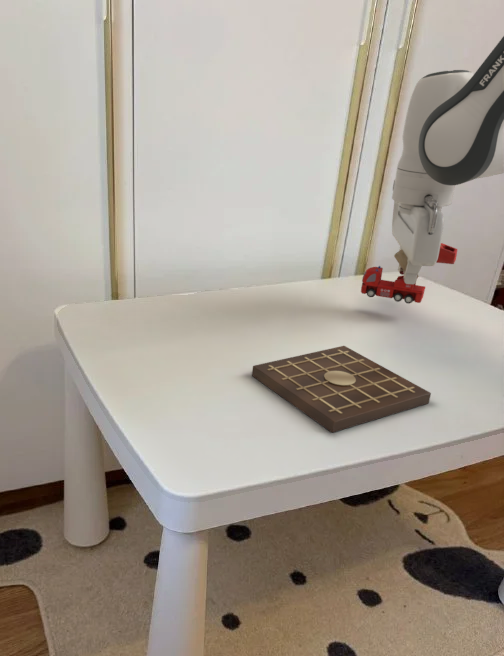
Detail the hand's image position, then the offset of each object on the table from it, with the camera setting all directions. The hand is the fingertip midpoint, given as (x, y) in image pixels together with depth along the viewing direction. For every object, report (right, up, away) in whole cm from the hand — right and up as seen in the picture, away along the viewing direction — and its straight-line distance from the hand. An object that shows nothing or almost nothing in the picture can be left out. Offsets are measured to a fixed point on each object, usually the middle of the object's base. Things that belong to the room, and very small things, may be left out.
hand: (406, 278), depth 103 cm
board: (-16, -18, -21) cm, 32 cm away
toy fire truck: (0, -3, +2) cm, 4 cm away
